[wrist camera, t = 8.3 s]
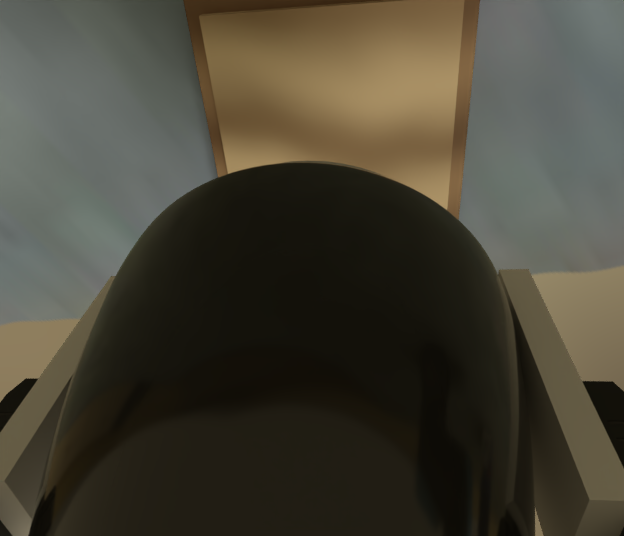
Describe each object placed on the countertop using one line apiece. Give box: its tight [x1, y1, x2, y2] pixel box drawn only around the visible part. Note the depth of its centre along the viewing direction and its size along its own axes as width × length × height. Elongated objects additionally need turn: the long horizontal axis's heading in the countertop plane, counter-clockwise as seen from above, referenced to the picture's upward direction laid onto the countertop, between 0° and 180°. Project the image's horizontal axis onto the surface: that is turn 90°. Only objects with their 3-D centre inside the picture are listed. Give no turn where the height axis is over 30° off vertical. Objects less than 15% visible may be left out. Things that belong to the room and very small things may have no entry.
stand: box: [183, 0, 480, 219], centre depth 28 cm, size 14×14×3 cm
